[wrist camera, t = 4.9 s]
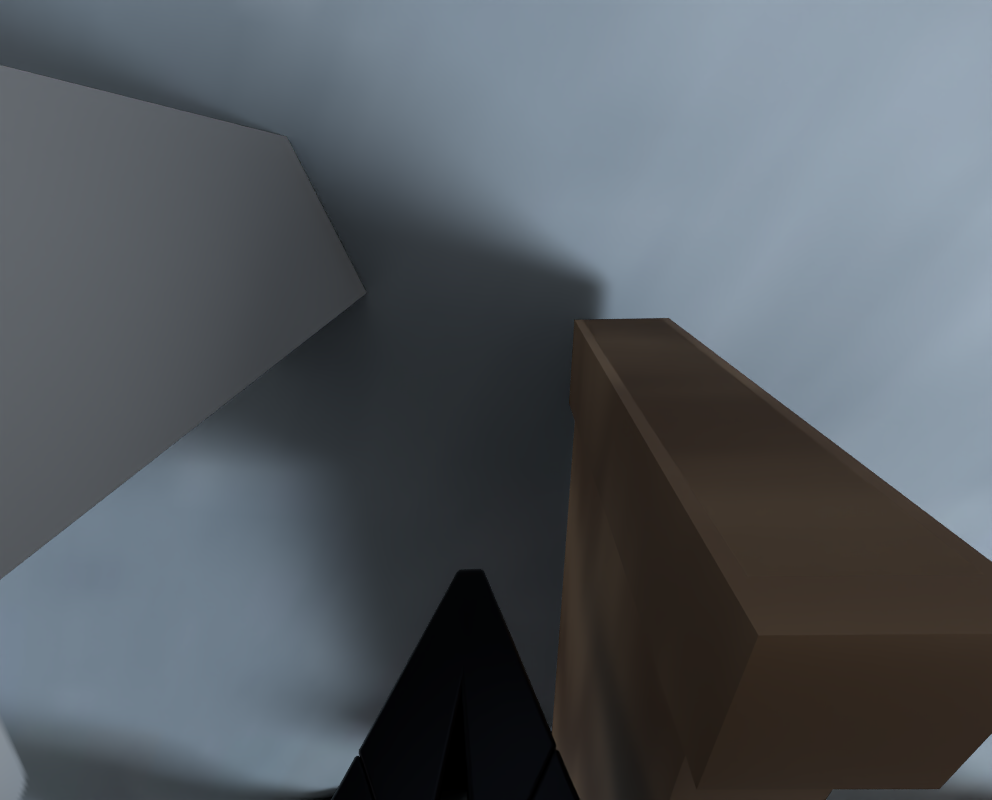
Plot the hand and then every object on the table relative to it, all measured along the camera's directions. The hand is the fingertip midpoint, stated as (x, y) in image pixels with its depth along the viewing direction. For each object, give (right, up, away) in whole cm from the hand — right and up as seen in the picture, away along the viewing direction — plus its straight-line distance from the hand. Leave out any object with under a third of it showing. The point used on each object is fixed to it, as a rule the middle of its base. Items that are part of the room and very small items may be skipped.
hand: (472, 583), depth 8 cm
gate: (+3, -4, +5) cm, 7 cm away
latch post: (-4, +7, 0) cm, 8 cm away
